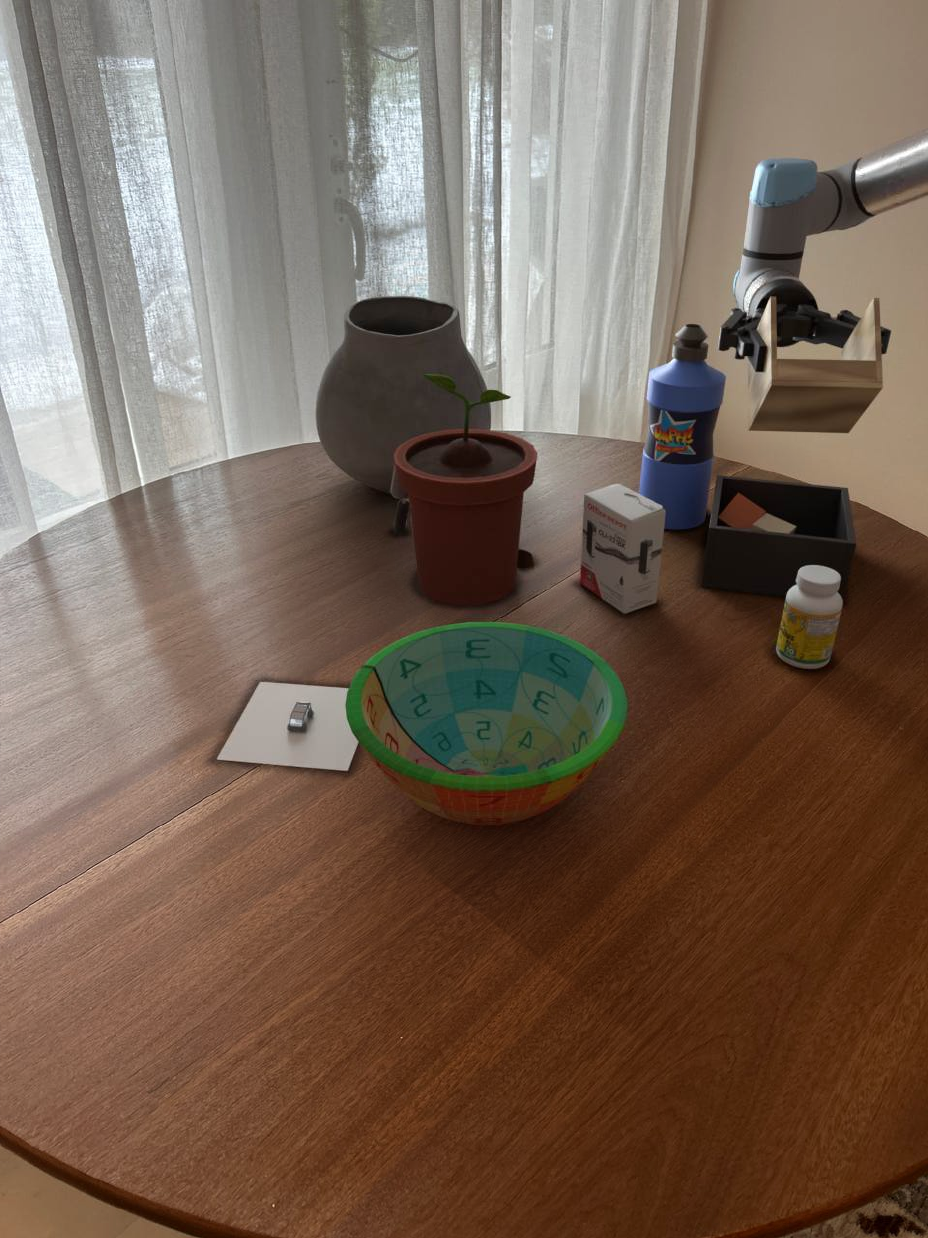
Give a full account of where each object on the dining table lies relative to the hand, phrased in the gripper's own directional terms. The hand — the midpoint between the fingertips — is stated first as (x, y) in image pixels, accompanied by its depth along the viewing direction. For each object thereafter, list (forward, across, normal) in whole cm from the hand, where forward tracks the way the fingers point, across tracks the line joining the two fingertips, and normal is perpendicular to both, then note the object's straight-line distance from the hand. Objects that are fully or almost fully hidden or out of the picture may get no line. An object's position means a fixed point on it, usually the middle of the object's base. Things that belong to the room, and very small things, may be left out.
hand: (818, 360), depth 96 cm
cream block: (-5, +1, -25) cm, 26 cm away
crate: (+1, 0, -5) cm, 5 cm away
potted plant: (+1, +37, -26) cm, 46 cm away
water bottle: (-17, +11, -26) cm, 33 cm away
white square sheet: (+32, +49, -26) cm, 64 cm away
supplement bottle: (+16, 0, -26) cm, 31 cm away
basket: (-4, 0, -26) cm, 26 cm away
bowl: (+39, +31, -26) cm, 56 cm away
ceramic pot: (-25, +48, -26) cm, 60 cm away
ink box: (+5, +19, -26) cm, 33 cm away
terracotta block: (-7, +5, -23) cm, 25 cm away
